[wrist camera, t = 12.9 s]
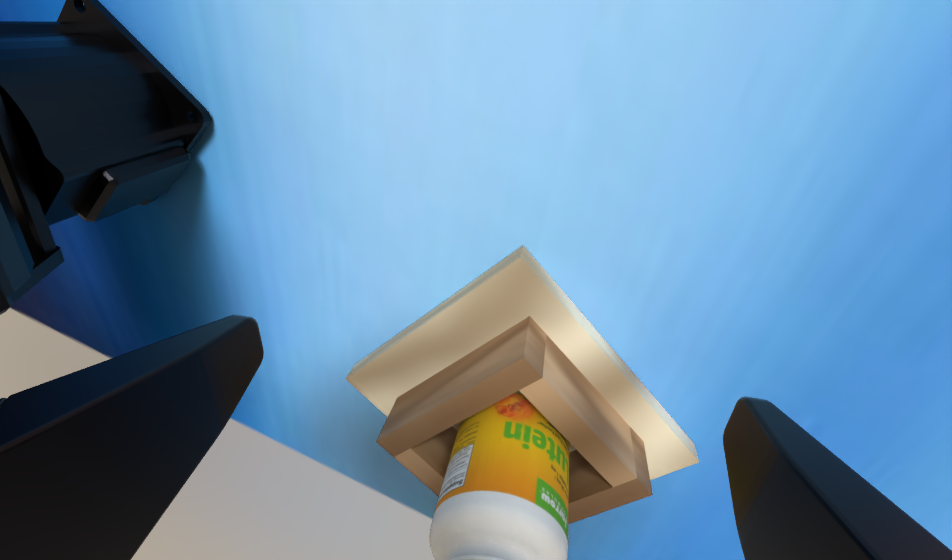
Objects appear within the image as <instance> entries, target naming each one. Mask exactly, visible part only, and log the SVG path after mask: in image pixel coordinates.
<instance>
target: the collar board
mask: <svg viewBox="0 0 952 560" xmlns="http://www.w3.org/2000/svg"><path fill="white" fill-rule="evenodd" d="M346 380H347V381H348V382H349V383H351V384H352V385H353V386H354V387H355V388H356V389H357V390H358V391H359V392H360V393H362V394H363V395H364V396H365V397H366V398H367V399H368V400H369V401H370V402H372V403H373V404H374V405H375V406H376V407H377V408H378V409H379V410H380V411H382V412H383V413H384V414H385V415H386V416H387V417H388V418H387V420H386V422H385V424H384V426H383V428H382V430H381V432H380V435H379V437H378V439H377V441H376V442H377V443H378V444H379V445H380V446H382V447H383V448H384V449H385V450H386V451H387V452H388V453H390V454H391V455H392V456H393V457H394V458H395V459H396V460H397V461H399V462H400V463H401V464H402V465H403V466H404V467H405V468H407V469H408V470H409V471H410V472H411V473H412V474H413V475H415V476H416V477H417V478H418V479H419V480H420V481H421V482H423V483H424V484H425V485H426V486H427V487H428V488H429V489H431V490H432V491H433V492H434V493H435V494H436V495H437V496H439V495H440V491H441V488H442V484H443V481H444V477H445V474H446V471H447V467H448V463H449V460H450V456H451V453H452V449H453V446H454V443H455V439H456V436H457V432H458V429H459V425H460V422H461V421H463V420H465V419H466V418H468V417H470V416H472V415H474V414H476V413H478V412H480V411H481V410H483V409H485V408H487V407H489V406H491V405H493V404H495V403H496V402H498V401H500V400H502V399H504V398H506V397H508V396H509V395H511V394H513V393H515V392H517V391H520V392H521V393H522V394H523V395H524V396H525V397H526V398H527V399H528V400H529V401H530V402H531V403H532V404H533V405H534V406H535V407H536V408H537V409H538V410H539V411H540V412H541V413H542V414H543V415H544V417H545V418H546V419H547V420H548V421H549V422H550V423H551V424H552V425H553V426H554V427H555V428H556V429H557V430H558V431H559V432H560V433H561V434H562V435H563V436H564V437H565V438H566V439H567V440H568V441H569V442H570V444H569V497H568V524H570V523H573V522H576V521H579V520H582V519H584V518H587V517H590V516H593V515H596V514H599V513H602V512H605V511H607V510H610V509H613V508H616V507H619V506H622V505H625V504H628V503H630V502H633V501H636V500H639V499H642V498H645V497H648V496H651V495H653V494H652V488H651V482H650V480H652V479H655V478H657V477H660V476H663V475H666V474H668V473H671V472H674V471H676V470H679V469H682V468H685V467H687V466H690V465H693V464H696V463H698V462H699V459H698V456H697V452H696V449H695V445H694V443H693V442H692V441H691V439H690V438H689V437H688V436H687V435H686V434H685V432H684V431H683V430H682V429H681V428H680V427H679V425H678V424H677V423H676V422H675V421H674V420H673V418H672V417H671V416H670V415H669V414H668V413H667V412H666V410H665V409H664V408H663V407H662V406H661V405H660V403H659V402H658V401H657V400H656V399H655V398H654V396H653V395H652V394H651V393H650V392H649V391H648V389H647V388H646V387H645V386H644V385H643V384H642V382H641V381H640V380H639V379H638V378H637V377H636V376H635V374H634V373H633V372H632V371H631V370H630V369H629V367H628V366H627V365H626V364H625V363H624V362H623V360H622V359H621V358H620V357H619V356H618V355H617V353H616V352H615V351H614V350H613V349H612V348H611V347H610V345H609V344H608V343H607V342H606V341H605V340H604V338H603V337H602V336H601V335H600V334H599V333H598V331H597V330H596V329H595V328H594V327H593V326H592V324H591V323H590V322H589V321H588V320H587V319H586V318H585V316H584V315H583V314H582V313H581V312H580V311H579V309H578V308H577V307H576V306H575V305H574V304H573V302H572V301H571V300H570V299H569V298H568V297H567V295H566V294H565V293H564V292H563V291H562V290H561V288H560V287H559V286H558V285H557V284H556V283H555V282H554V280H553V279H552V278H551V277H550V276H549V275H548V273H547V272H546V271H545V270H544V269H543V268H542V266H541V265H540V264H539V263H538V262H537V261H536V259H535V258H534V257H533V256H532V255H531V254H530V253H529V251H528V250H527V249H526V248H525V247H524V246H521V247H520V248H519V249H517V250H516V251H514V252H513V253H512V254H510V255H509V256H507V257H506V258H504V259H503V260H502V261H500V262H499V263H497V264H496V265H495V266H493V267H492V268H490V269H489V270H488V271H486V272H485V273H483V274H482V275H480V276H479V277H478V278H476V279H475V280H473V281H472V282H471V283H469V284H468V285H466V286H465V287H464V288H462V289H461V290H459V291H458V292H457V293H455V294H454V295H452V296H451V297H449V298H448V299H447V300H445V301H444V302H442V303H441V304H440V305H438V306H437V307H435V308H434V309H433V310H431V311H430V312H428V313H427V314H425V315H424V316H423V317H421V318H420V319H418V320H417V321H416V322H414V323H413V324H411V325H410V326H409V327H407V328H406V329H404V330H403V331H401V332H400V333H399V334H397V335H396V336H394V337H393V338H392V339H390V340H389V341H387V342H386V343H385V344H383V345H382V346H380V347H379V348H377V349H376V350H375V351H373V352H372V353H370V354H369V355H368V356H366V357H365V358H363V359H362V360H361V361H359V362H358V363H356V364H355V365H354V367H353V368H352V370H351V371H350V373H349V374H348V376H347V377H346Z"/></svg>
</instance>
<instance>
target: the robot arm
mask: <svg viewBox="0 0 952 560" xmlns="http://www.w3.org/2000/svg"><path fill="white" fill-rule="evenodd" d="M83 2H84V4H85V7H86V10H85V8H84V6H83ZM194 112H195V113H196V114H197V116H198V120H196V118H195V117H194ZM209 123H210V116H209V113H208V111H207V110H206V109H205V107H204V106H203V105H202V104H201V103H200V102H199V101H198V100H197V99H196V98H195V97H194V96H193V95H192V94H191V93H190V92H189V91H188V90H187V89H186V88H185V87H184V86H183V85H182V84H181V83H180V82H179V81H178V80H177V79H176V78H175V77H174V76H173V75H172V74H171V73H170V72H169V71H168V70H167V69H166V68H165V67H164V66H163V65H162V64H161V63H160V62H159V61H158V60H157V59H156V58H155V57H154V56H153V55H152V54H151V53H150V52H149V51H148V50H147V49H146V48H145V47H144V46H143V45H142V44H141V43H140V42H139V41H138V40H137V39H136V38H135V37H134V36H133V35H132V34H131V33H130V32H129V31H128V30H127V29H126V28H125V27H124V26H123V25H122V24H121V23H120V22H119V21H118V20H117V19H116V18H115V17H114V16H113V15H112V14H111V13H110V12H109V11H108V10H107V9H106V8H105V7H104V6H103V5H102V4H101V3H100V2H99V1H98V0H66V2H65V4H64V7H63V9H62V11H61V13H60V16H59V18H58V20H57V22H24V21H0V314H2V313H4V312H6V311H7V310H8V309H9V308H10V307H11V306H12V305H13V303H14V302H15V301H16V300H18V299H19V298H20V297H21V296H22V295H24V294H25V293H26V292H27V291H28V290H30V289H31V288H32V287H33V286H34V285H36V284H37V283H38V282H39V281H41V280H42V279H43V278H44V277H45V276H47V275H48V274H49V273H50V272H51V271H53V270H54V269H55V268H56V267H57V266H59V265H60V264H61V263H62V262H63V261H64V258H63V255H62V252H61V249H60V247H59V246H56V244H55V242H54V239H53V236H52V233H51V231H50V228H49V226H50V225H52V224H55V223H57V222H60V221H63V220H65V219H68V218H71V217H73V216H76V215H79V216H80V217H82V218H83V219H84V220H85V221H93V222H95V221H98V220H100V219H103V218H105V217H108V216H110V215H113V214H115V213H118V212H120V211H122V210H125V209H127V208H130V207H132V206H135V205H137V204H142V205H146V204H148V203H151V202H153V201H154V200H155V199H156V198H157V196H159V195H161V194H164V193H166V192H168V190H169V189H170V188H171V186H172V185H173V184H174V182H175V181H176V179H177V178H178V177H179V175H180V174H181V173H182V171H183V170H184V168H185V167H186V166H187V164H188V163H189V162H190V158H191V154H190V153H189V152H190V150H191V149H192V147H193V146H194V145H195V143H196V142H197V140H198V139H199V138H200V136H201V135H202V133H203V132H204V131H205V129H206V128H207V126H208V125H209ZM262 359H263V346H262V341H261V337H260V332H259V327H258V323H257V321H256V320H255V319H254V318H252V317H247V316H241V315H231V316H228V317H225V318H223V319H220V320H217V321H214V322H212V323H209V324H206V325H203V326H201V327H198V328H195V329H192V330H190V331H187V332H184V333H181V334H178V335H176V336H173V337H170V338H167V339H165V340H162V341H159V342H156V343H154V344H151V345H148V346H145V347H143V348H140V349H137V350H134V351H131V352H129V353H126V354H123V355H120V356H118V357H115V358H112V359H109V360H107V361H104V362H101V363H99V364H96V365H93V366H90V367H87V368H85V369H82V370H79V371H76V372H73V373H71V374H68V375H65V376H62V377H60V378H57V379H54V380H52V381H49V382H46V383H43V384H40V385H38V386H35V387H32V388H29V389H26V390H24V391H21V392H18V393H16V394H13V395H11V396H9V397H8V398H1V399H0V560H131V559H132V557H133V556H134V554H135V553H136V552H137V550H138V549H139V547H140V546H141V544H142V543H143V542H144V540H145V539H146V537H147V536H148V535H149V533H150V532H151V530H152V529H153V527H154V526H155V525H156V523H157V522H158V521H159V519H160V518H161V516H162V515H163V513H164V512H165V511H166V509H167V508H168V506H169V505H170V504H171V502H172V501H173V499H174V498H175V497H176V495H177V494H178V492H179V491H180V489H181V488H182V487H183V485H184V484H185V483H186V481H187V479H188V478H189V477H190V475H191V474H192V473H193V471H194V470H195V468H196V467H197V465H198V464H199V463H200V461H201V460H202V459H203V457H204V456H205V454H206V453H207V451H208V450H209V449H210V447H211V446H212V445H213V443H214V442H215V440H216V439H217V437H218V436H219V434H220V433H221V431H222V430H223V428H224V427H225V425H226V423H227V422H228V420H229V419H230V417H231V415H232V413H233V412H234V410H235V408H236V406H237V405H238V403H239V401H240V399H241V398H242V396H243V394H244V392H245V391H246V389H247V387H248V385H249V384H250V382H251V380H252V378H253V377H254V375H255V373H256V371H257V370H258V368H259V366H260V364H261V362H262ZM723 445H724V451H725V458H726V464H727V470H728V477H729V483H730V489H731V496H732V502H733V508H734V515H735V520H736V525H737V530H738V534H739V538H740V542H741V546H742V550H743V554H744V557H745V560H952V551H951V550H950V549H949V548H948V547H947V546H945V545H944V544H943V543H942V542H940V541H939V540H938V539H937V538H936V537H934V536H933V535H932V534H931V533H929V532H928V531H927V530H926V529H925V528H923V527H922V526H921V525H920V524H919V523H917V522H916V521H915V520H914V519H912V518H911V517H910V516H909V515H908V514H906V513H905V512H904V511H903V510H901V509H900V508H899V507H898V506H897V505H895V504H894V503H893V502H892V501H890V500H889V499H888V498H887V497H886V496H884V495H883V494H882V493H881V492H880V491H878V490H877V489H876V488H875V487H873V486H872V485H871V484H870V483H869V482H867V481H866V480H865V479H864V478H862V477H861V476H860V475H859V474H858V473H856V472H855V471H854V470H853V469H851V468H850V467H849V466H848V465H847V464H845V463H844V462H843V461H842V460H841V459H839V458H838V457H837V456H836V455H834V454H833V453H832V452H831V451H830V450H828V449H827V448H826V447H825V446H823V445H822V444H821V443H820V442H819V441H817V440H816V439H815V438H814V437H812V436H811V435H810V434H809V433H808V432H806V431H805V430H804V429H803V428H802V427H800V426H799V425H798V424H797V423H795V422H794V421H793V420H792V419H791V418H789V417H788V416H787V415H786V414H784V413H783V412H782V411H781V410H780V409H778V408H777V407H776V406H775V405H773V404H772V403H771V402H769V401H767V400H764V399H758V398H752V397H742V398H740V399H739V400H738V401H737V403H736V405H735V408H734V410H733V412H732V414H731V416H730V419H729V421H728V423H727V425H726V428H725V430H724V435H723Z"/></svg>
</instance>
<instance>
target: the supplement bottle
mask: <svg viewBox="0 0 952 560" xmlns="http://www.w3.org/2000/svg"><path fill="white" fill-rule="evenodd" d="M569 444H570V442H569V441H568V440H567V439H566V438H565V437H564V436H563V435H562V434H561V433H560V432H559V431H558V430H557V429H556V428H555V427H554V426H553V425H552V424H551V423H550V422H549V421H548V420H547V419H546V418H545V417H544V415H543V414H542V413H541V412H540V411H539V410H538V409H537V408H536V407H535V406H534V405H533V404H532V403H531V402H530V401H529V400H528V399H527V398H526V397H525V396H524V395H523V394H522V393H521V392H520V391H517V392H515V393H513V394H511V395H509V396H508V397H506V398H504V399H502V400H500V401H498V402H496V403H495V404H493V405H491V406H489V407H487V408H485V409H483V410H481V411H480V412H478V413H476V414H474V415H472V416H470V417H468V418H466V419H465V420H463V421H461V422H460V425H459V429H458V432H457V436H456V439H455V443H454V446H453V449H452V453H451V456H450V460H449V463H448V467H447V471H446V474H445V477H444V481H443V484H442V488H441V491H440V495H439V498H438V502H437V505H436V509H435V512H434V516H433V520H432V524H431V529H430V546H431V550H432V553H433V556H434V558H435V560H567V554H568V497H569Z"/></svg>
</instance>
